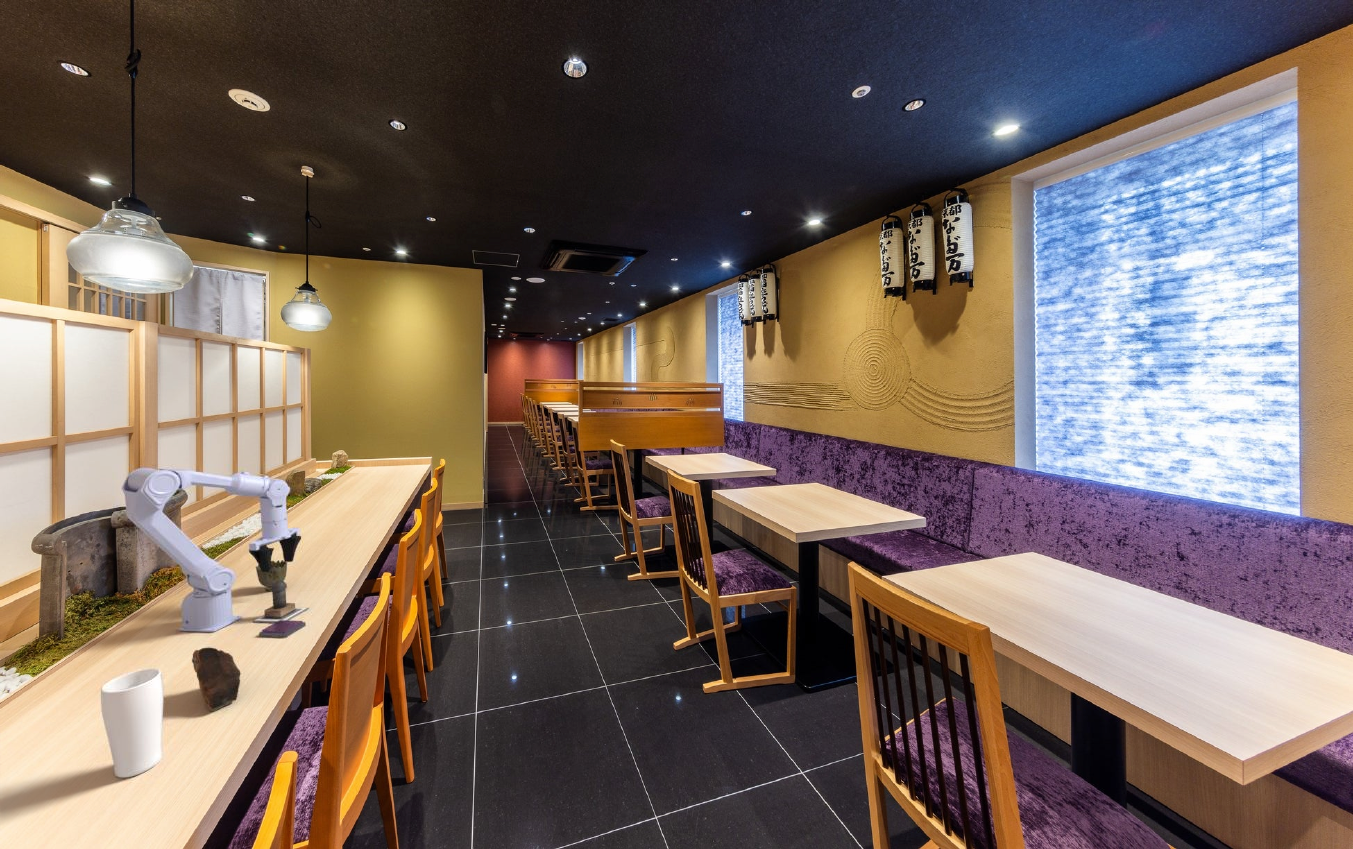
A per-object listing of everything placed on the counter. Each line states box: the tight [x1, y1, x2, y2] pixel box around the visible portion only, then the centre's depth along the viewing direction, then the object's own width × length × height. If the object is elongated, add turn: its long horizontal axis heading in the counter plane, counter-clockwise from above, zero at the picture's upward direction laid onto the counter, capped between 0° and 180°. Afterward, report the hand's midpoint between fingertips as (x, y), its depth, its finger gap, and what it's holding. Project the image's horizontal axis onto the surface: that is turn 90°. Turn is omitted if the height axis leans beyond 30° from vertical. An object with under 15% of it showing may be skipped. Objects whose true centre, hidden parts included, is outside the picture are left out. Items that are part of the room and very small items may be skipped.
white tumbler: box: [100, 668, 165, 779], centre depth 80 cm, size 7×7×15 cm
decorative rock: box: [191, 647, 241, 712], centre depth 99 cm, size 12×6×11 cm, turn 53°
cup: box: [255, 559, 288, 592], centre depth 151 cm, size 8×7×8 cm
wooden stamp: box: [264, 580, 296, 619], centre depth 133 cm, size 5×5×9 cm
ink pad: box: [258, 620, 307, 639], centre depth 126 cm, size 7×6×2 cm
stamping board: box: [252, 606, 310, 624], centre depth 134 cm, size 8×8×1 cm
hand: (277, 566), depth 142 cm, fingers open, 7 cm apart
